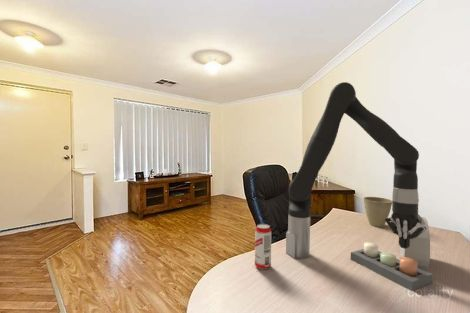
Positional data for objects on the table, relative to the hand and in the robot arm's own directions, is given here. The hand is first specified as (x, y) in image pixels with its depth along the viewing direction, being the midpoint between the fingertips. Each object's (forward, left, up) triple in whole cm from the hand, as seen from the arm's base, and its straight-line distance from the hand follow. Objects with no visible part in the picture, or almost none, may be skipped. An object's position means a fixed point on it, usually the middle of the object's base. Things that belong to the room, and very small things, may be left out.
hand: (404, 247), depth 82 cm
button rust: (-1, -2, -8) cm, 8 cm away
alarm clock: (+15, +5, -11) cm, 19 cm away
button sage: (-1, +5, -9) cm, 11 cm away
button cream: (-1, +12, -8) cm, 14 cm away
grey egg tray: (-1, +5, -11) cm, 12 cm away
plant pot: (+46, +41, -11) cm, 63 cm away
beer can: (-44, +26, -11) cm, 52 cm away
